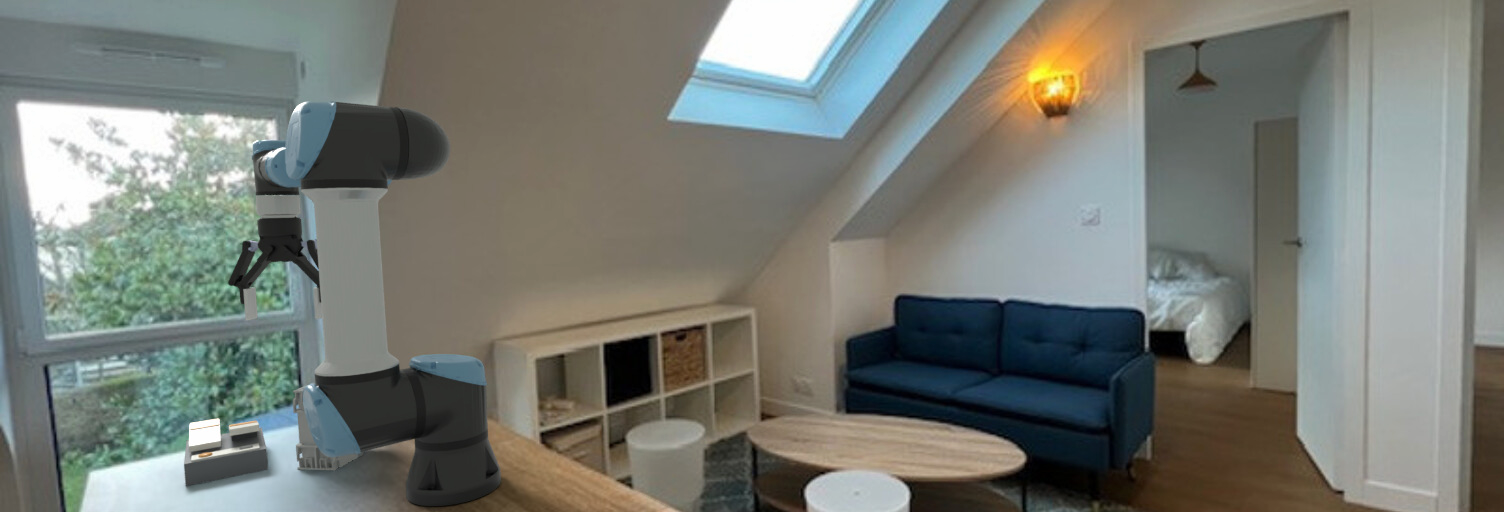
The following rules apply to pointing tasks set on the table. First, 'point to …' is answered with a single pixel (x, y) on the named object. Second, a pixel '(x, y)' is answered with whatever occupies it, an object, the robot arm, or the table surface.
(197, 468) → the switch unit
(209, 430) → the rocker left
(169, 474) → the table surface
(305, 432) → the circuit breaker
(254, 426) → the rocker right
